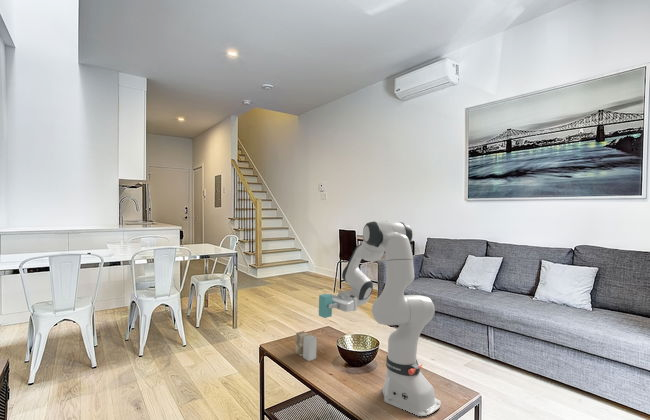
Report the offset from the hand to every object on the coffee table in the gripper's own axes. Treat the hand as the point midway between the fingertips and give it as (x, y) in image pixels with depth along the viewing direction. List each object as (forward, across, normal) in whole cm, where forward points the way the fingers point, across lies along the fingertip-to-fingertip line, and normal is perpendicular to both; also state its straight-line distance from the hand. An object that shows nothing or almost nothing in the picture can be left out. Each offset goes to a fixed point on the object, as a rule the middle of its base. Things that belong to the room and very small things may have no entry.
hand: (324, 304), depth 162 cm
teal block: (-1, 0, +6) cm, 6 cm away
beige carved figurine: (+6, -9, +25) cm, 28 cm away
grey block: (+6, -3, +25) cm, 26 cm away
